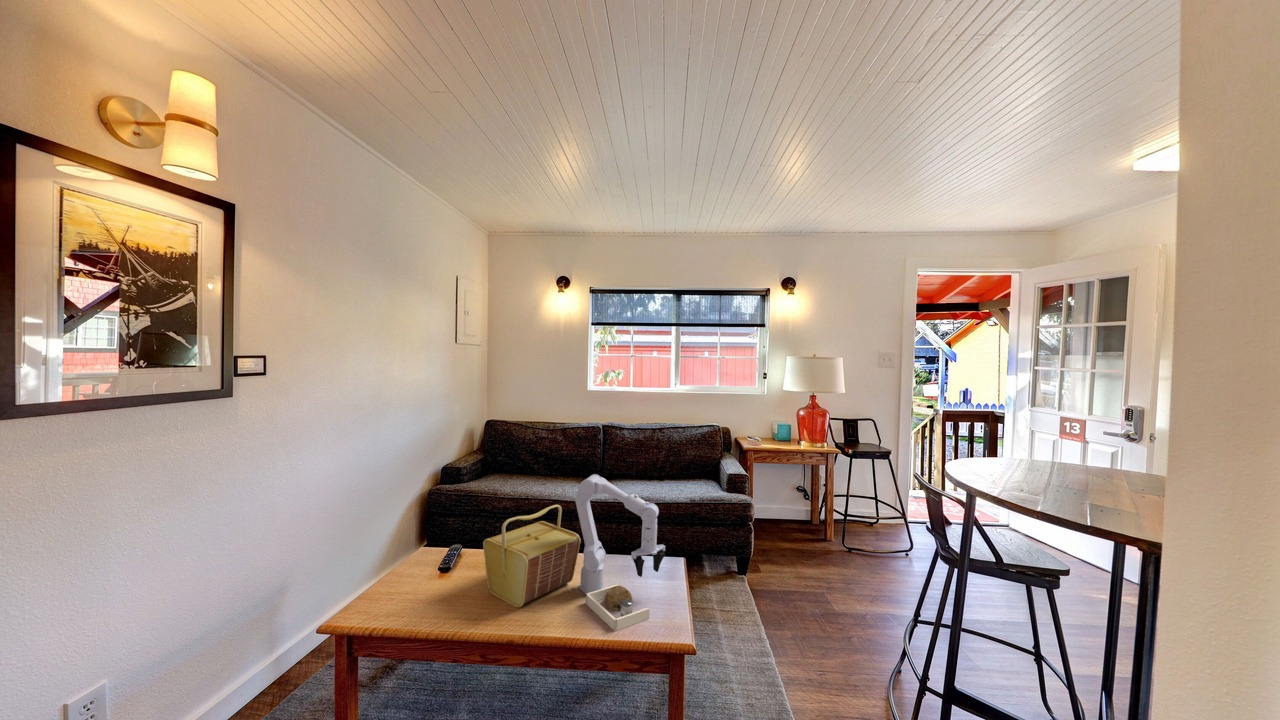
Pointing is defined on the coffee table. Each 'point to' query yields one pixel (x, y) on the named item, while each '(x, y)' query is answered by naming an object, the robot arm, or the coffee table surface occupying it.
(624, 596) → the bread roll
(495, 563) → the picnic basket
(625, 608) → the grey tin
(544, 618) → the coffee table surface
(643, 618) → the cream low open frame
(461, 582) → the coffee table surface
